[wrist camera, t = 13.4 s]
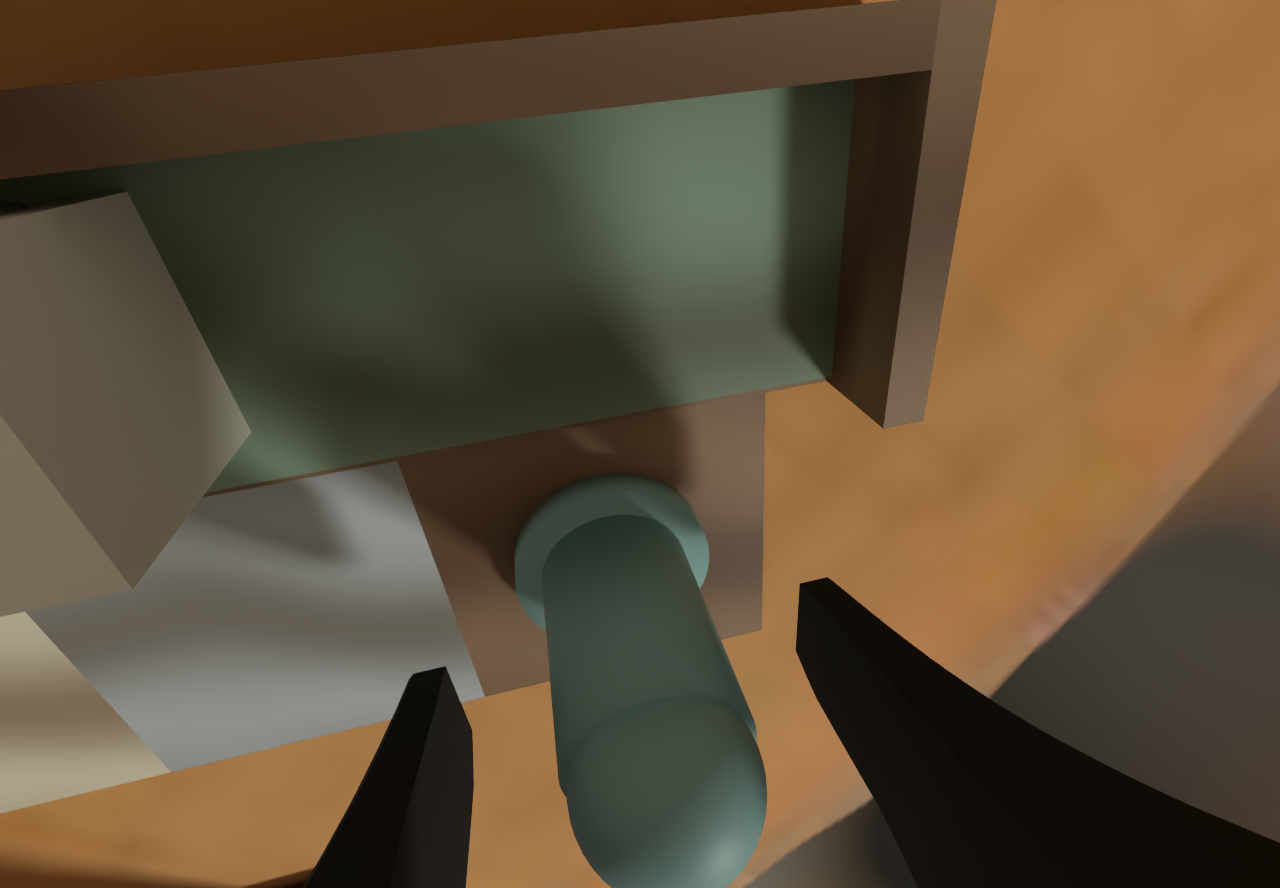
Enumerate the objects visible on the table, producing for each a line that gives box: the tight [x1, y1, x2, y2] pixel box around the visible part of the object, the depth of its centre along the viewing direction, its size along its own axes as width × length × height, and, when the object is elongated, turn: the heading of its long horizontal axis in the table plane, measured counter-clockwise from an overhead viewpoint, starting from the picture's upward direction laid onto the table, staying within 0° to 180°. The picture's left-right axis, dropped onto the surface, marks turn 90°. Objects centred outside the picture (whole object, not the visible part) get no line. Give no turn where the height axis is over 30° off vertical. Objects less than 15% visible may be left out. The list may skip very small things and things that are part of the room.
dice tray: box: [0, 0, 996, 497], centre depth 9 cm, size 6×24×3 cm, turn 96°
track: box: [0, 392, 765, 813], centre depth 14 cm, size 8×24×1 cm, turn 96°
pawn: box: [514, 472, 767, 888], centre depth 11 cm, size 5×5×7 cm
